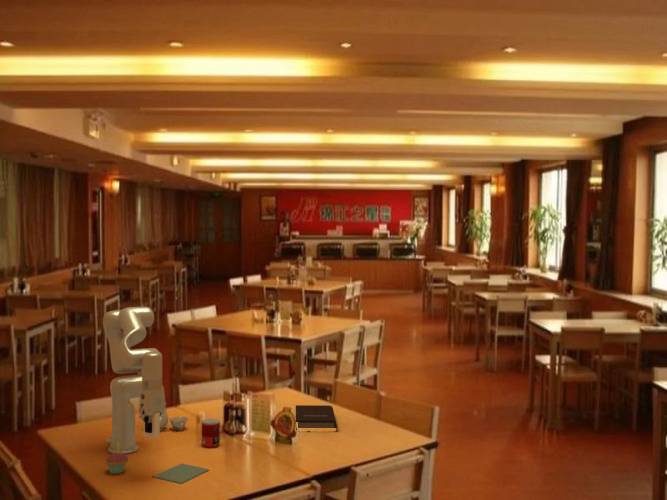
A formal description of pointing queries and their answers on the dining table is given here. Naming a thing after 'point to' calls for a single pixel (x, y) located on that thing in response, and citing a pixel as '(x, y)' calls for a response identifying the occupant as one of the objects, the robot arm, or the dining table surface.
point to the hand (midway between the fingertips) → (151, 431)
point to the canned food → (210, 433)
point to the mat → (181, 473)
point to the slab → (153, 426)
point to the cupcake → (116, 461)
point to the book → (315, 416)
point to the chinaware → (172, 421)
